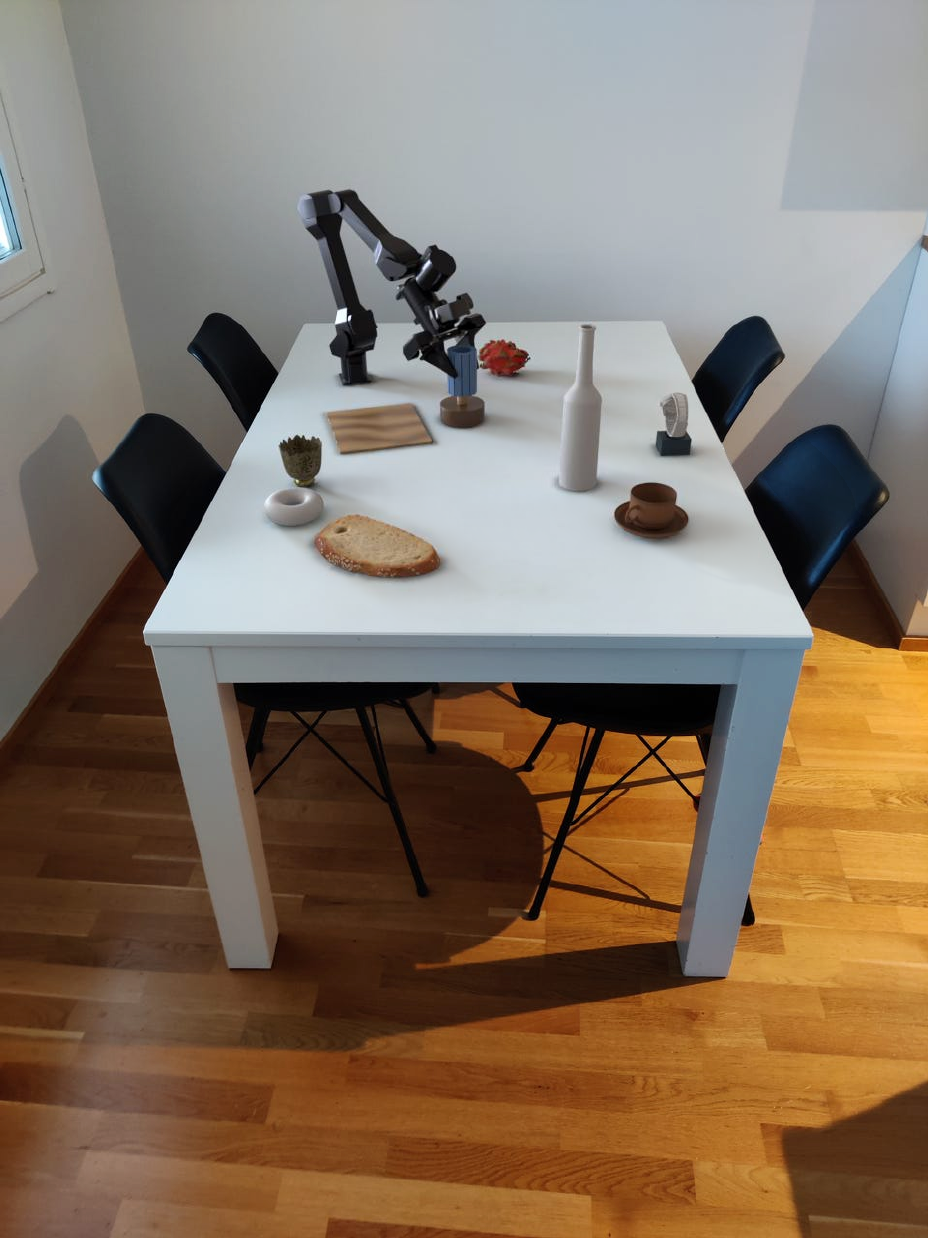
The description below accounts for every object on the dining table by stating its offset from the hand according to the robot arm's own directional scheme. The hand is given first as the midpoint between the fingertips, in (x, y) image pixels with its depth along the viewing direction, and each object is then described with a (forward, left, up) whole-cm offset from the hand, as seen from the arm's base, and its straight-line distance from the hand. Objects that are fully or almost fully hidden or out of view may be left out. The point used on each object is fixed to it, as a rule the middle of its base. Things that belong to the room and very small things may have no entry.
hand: (466, 373), depth 186 cm
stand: (-1, -1, -10) cm, 10 cm away
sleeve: (-1, -1, -4) cm, 4 cm away
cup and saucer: (+50, +18, -10) cm, 54 cm away
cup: (+19, -35, -10) cm, 41 cm away
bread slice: (+46, -27, -10) cm, 55 cm away
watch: (+24, +34, -10) cm, 43 cm away
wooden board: (-2, -18, -10) cm, 21 cm away
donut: (+30, -38, -10) cm, 50 cm away
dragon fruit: (-24, +15, -10) cm, 30 cm away
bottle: (+32, +12, -10) cm, 36 cm away
